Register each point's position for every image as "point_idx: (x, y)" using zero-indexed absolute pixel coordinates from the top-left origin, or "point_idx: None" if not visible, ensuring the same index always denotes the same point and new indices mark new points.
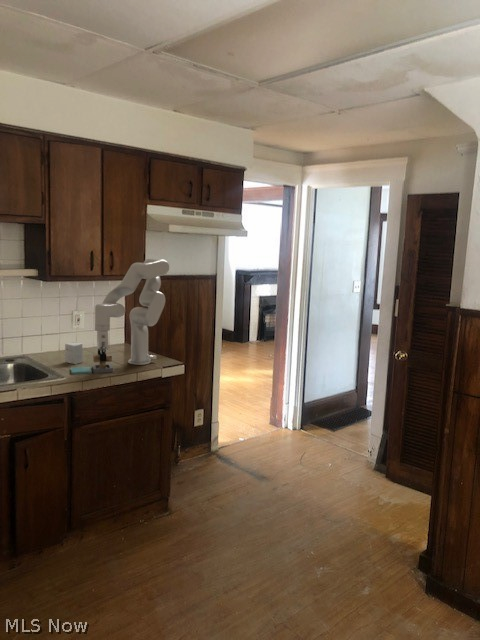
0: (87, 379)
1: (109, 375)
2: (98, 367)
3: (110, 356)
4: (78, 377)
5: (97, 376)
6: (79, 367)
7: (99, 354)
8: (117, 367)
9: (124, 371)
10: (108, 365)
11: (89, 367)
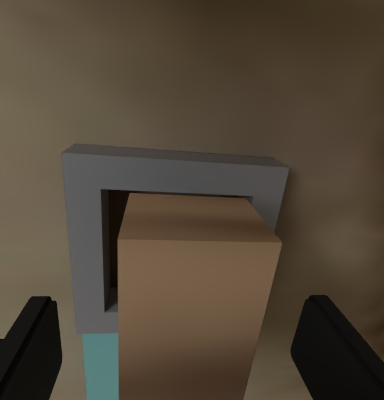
0: (371, 344)
1: (360, 211)
2: (107, 268)
3: (274, 258)
4: (303, 381)
5: (339, 291)
6: (97, 392)
7: (43, 391)
8: (93, 67)
9: (300, 35)
10: (110, 186)
11: (114, 336)
